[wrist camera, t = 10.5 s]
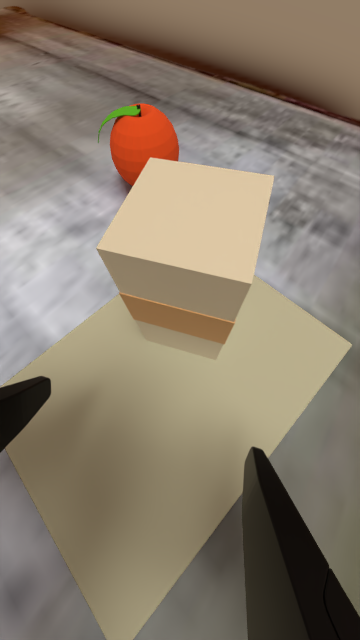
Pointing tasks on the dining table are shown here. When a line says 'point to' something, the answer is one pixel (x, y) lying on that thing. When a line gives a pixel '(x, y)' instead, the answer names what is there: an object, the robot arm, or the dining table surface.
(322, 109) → the dining table surface
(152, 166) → the carton
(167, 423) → the mat
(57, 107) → the dining table surface
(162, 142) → the clementine
